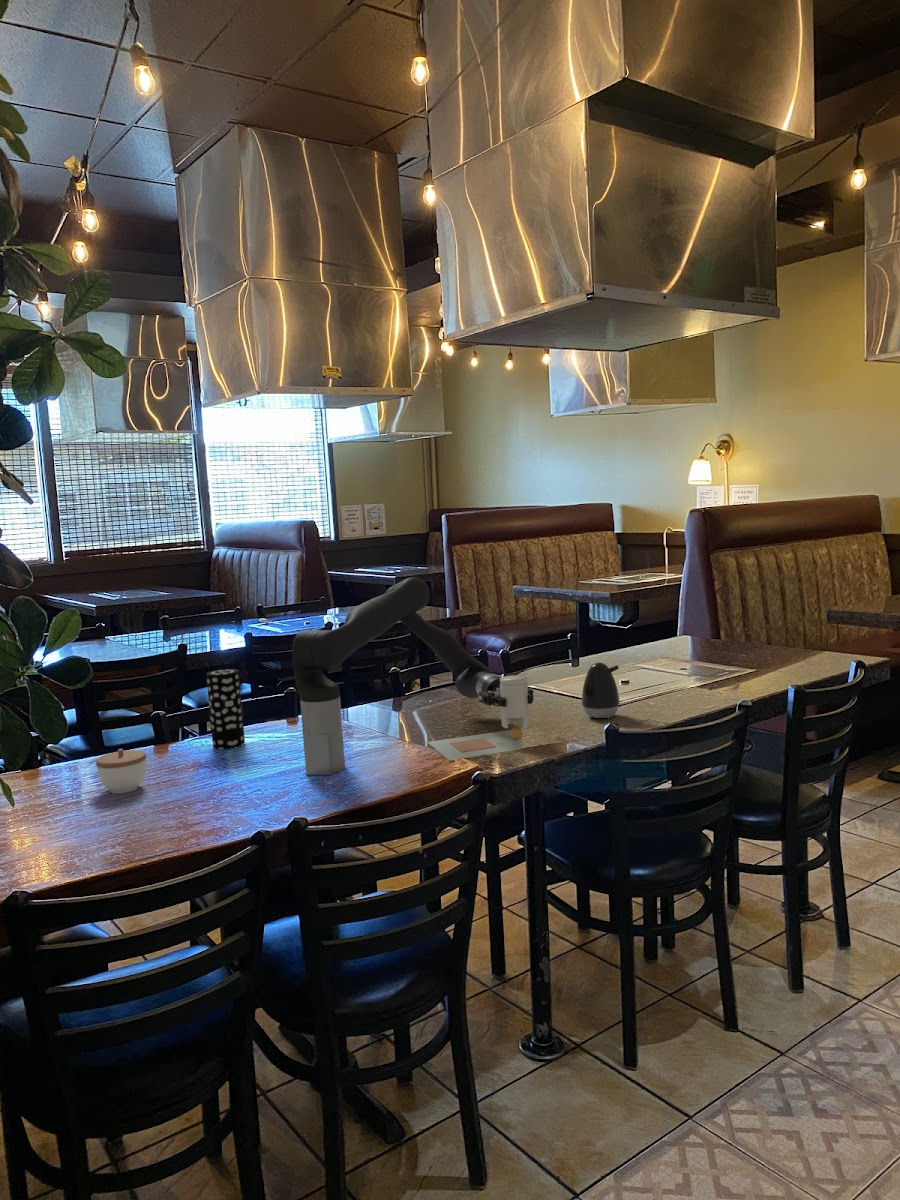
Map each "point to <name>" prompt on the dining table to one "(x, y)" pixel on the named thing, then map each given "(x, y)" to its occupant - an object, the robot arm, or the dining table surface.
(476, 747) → the mat
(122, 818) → the dining table surface
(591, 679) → the pump dispenser
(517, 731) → the ball
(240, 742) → the white-spotted black cylinder
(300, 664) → the robot arm
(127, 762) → the lidded jar
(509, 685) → the white cover with opening
